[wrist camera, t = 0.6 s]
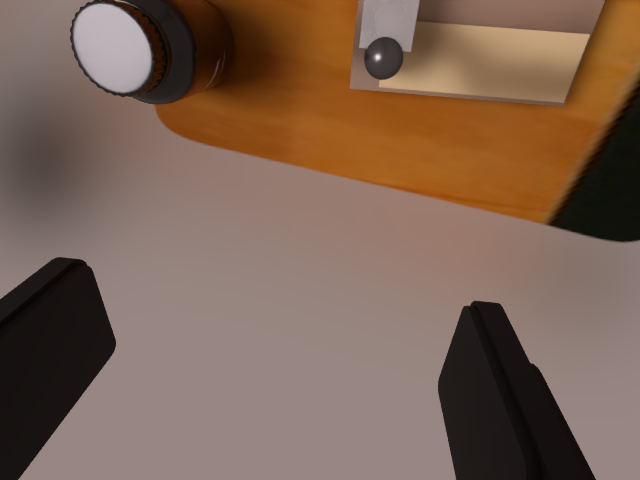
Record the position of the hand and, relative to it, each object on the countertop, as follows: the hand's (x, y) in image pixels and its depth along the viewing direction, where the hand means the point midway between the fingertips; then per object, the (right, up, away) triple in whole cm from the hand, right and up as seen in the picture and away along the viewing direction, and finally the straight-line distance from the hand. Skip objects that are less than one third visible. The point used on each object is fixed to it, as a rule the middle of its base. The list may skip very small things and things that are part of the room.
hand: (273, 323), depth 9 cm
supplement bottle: (-9, +19, +21) cm, 29 cm away
